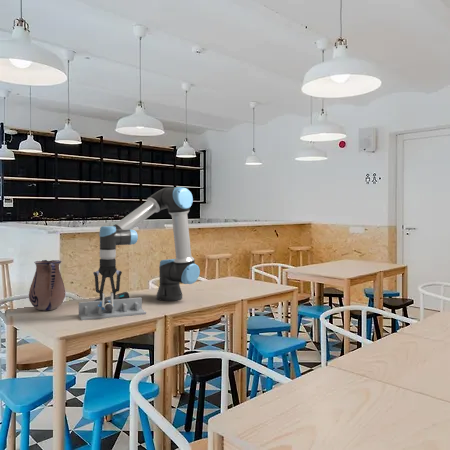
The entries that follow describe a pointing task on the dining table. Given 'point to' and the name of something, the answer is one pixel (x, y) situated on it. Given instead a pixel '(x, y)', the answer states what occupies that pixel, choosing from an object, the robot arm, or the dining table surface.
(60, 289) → the ceramic pitcher
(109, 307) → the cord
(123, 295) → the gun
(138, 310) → the spiked grey rail
